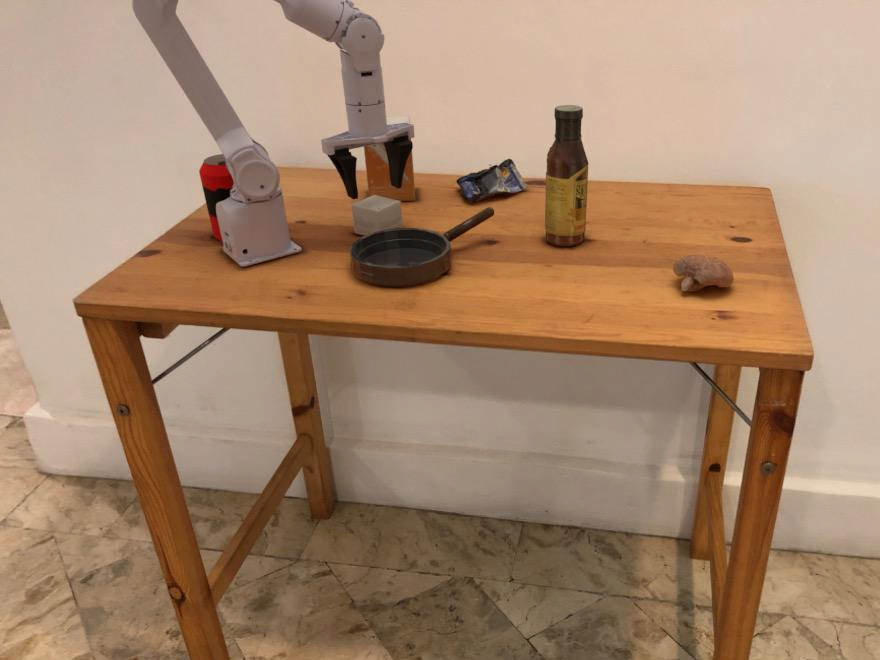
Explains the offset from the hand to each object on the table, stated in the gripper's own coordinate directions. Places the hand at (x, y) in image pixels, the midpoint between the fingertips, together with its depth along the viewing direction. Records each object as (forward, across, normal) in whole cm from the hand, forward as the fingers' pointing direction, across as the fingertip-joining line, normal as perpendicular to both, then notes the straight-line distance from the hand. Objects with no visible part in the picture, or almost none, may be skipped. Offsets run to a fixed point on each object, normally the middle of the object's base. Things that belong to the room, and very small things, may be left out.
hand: (375, 191), depth 122 cm
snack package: (+7, +24, +3) cm, 25 cm away
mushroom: (+7, +25, -45) cm, 52 cm away
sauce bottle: (+7, +21, -21) cm, 30 cm away
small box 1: (+7, +10, +13) cm, 18 cm away
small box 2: (+7, 0, 0) cm, 7 cm away
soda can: (+7, -18, +13) cm, 23 cm away
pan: (+6, -4, -14) cm, 16 cm away
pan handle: (+5, +8, -14) cm, 17 cm away
